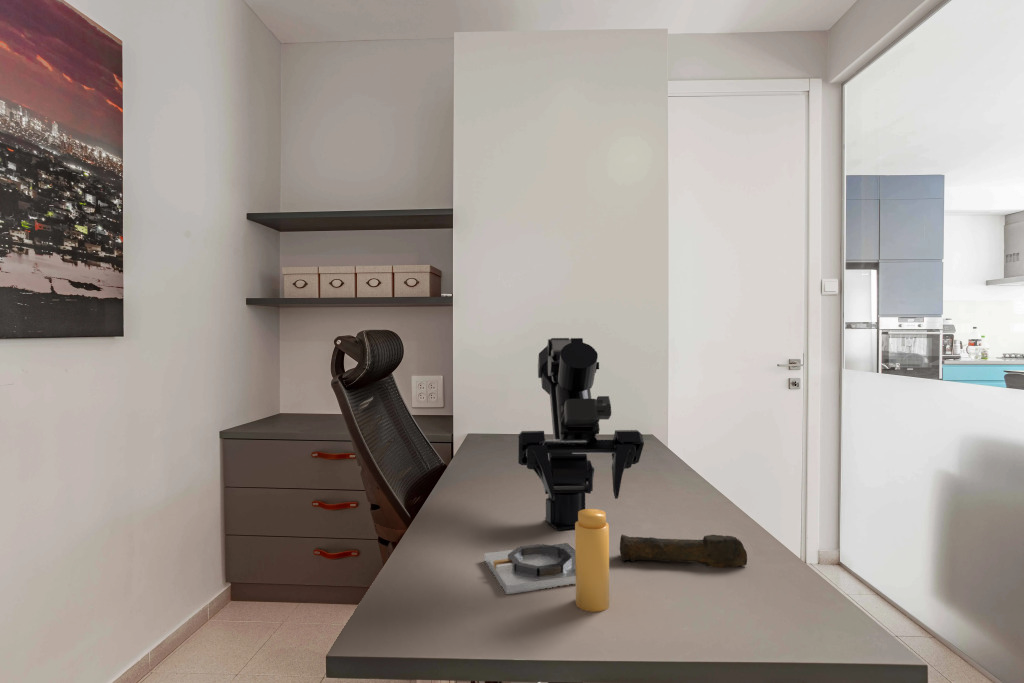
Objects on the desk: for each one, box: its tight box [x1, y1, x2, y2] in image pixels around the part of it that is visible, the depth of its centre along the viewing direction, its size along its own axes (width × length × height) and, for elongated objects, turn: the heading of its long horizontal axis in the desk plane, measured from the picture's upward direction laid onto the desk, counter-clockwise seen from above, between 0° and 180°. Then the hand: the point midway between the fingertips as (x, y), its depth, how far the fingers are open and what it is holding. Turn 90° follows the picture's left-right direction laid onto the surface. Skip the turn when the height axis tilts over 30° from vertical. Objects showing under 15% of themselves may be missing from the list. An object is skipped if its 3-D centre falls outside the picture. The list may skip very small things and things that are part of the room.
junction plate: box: [484, 542, 576, 595], centre depth 85 cm, size 14×12×2 cm
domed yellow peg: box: [574, 508, 610, 613], centre depth 75 cm, size 4×4×12 cm
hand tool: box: [619, 534, 748, 569], centre depth 88 cm, size 19×4×5 cm, turn 78°
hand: (584, 497), depth 81 cm, fingers open, 9 cm apart
